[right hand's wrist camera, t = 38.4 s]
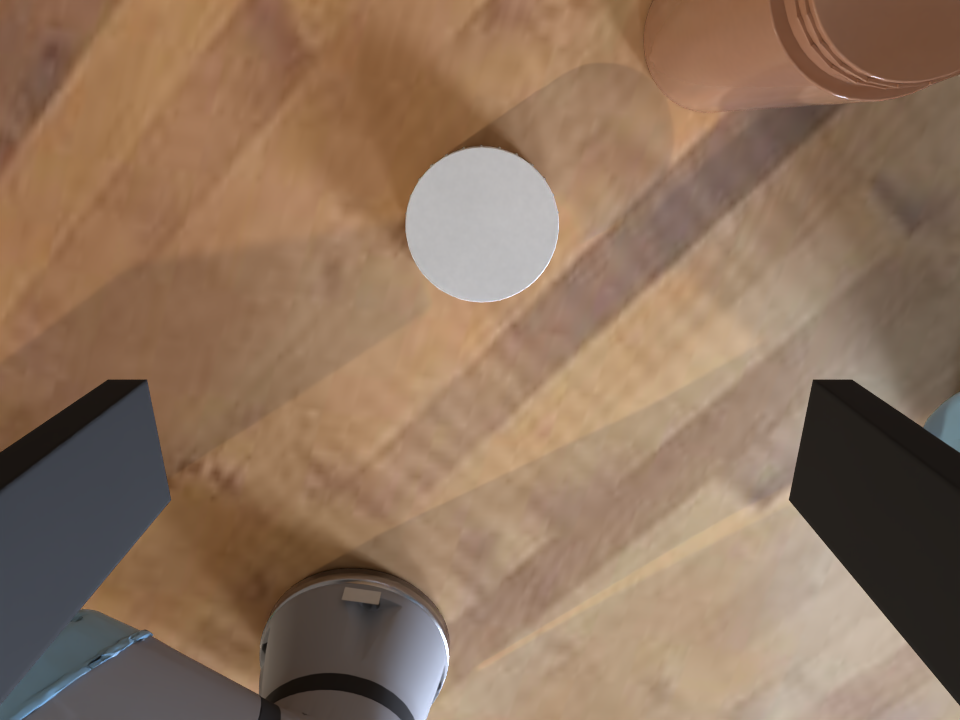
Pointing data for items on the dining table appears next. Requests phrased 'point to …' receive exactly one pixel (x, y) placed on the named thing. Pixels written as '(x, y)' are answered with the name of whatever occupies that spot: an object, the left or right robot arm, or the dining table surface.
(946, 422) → the left robot arm
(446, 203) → the lid
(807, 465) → the right robot arm
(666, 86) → the jar
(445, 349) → the dining table surface
